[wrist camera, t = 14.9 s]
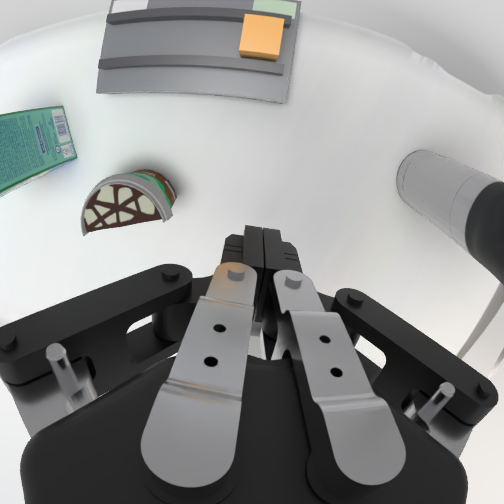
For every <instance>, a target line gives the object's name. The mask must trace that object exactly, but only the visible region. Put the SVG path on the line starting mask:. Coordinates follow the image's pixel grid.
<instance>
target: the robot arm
mask: <svg viewBox="0 0 504 504" xmlns="http://www.w3.org/2000/svg"><path fill="white" fill-rule="evenodd" d="M397 187H398V191H399V194H400V196H401V198H402V199H403V201H404V202H406V203H407V204H408V205H409V206H411V207H412V208H413V209H415V210H416V211H417V212H419V213H420V214H421V215H422V216H424V217H425V218H426V219H428V220H429V221H430V222H432V223H433V224H434V225H435V226H437V227H438V228H439V229H440V230H442V231H443V232H444V233H445V234H447V235H448V236H449V237H450V238H452V239H453V240H454V241H455V242H456V243H458V244H459V245H460V246H461V247H462V248H464V249H465V250H466V251H467V252H468V253H469V254H470V255H472V256H473V257H474V258H475V259H476V260H477V261H478V262H479V263H481V264H482V265H483V266H484V267H485V268H486V269H488V270H489V271H490V272H491V273H492V274H493V275H494V276H495V277H496V278H497V279H498V280H499V281H500V282H501V283H502V284H503V285H504V182H502V181H500V180H498V179H496V178H494V177H491V176H489V175H487V174H484V173H482V172H480V171H478V170H475V169H473V168H470V167H468V166H465V165H463V164H460V163H458V162H455V161H453V160H450V159H448V158H445V157H442V156H440V155H437V154H434V153H431V152H428V151H422V150H421V151H416V152H414V153H411V154H410V155H409V156H407V157H406V159H405V160H404V161H403V162H402V164H401V166H400V168H399V171H398V176H397ZM254 314H255V322H262V328H261V333H260V346H261V354H262V359H261V358H257V357H254V356H251V355H247V354H248V347H249V340H250V332H251V325H252V321H253V319H254ZM150 315H152V322H150V323H148V324H146V325H144V326H142V327H139V328H137V329H135V330H133V331H131V332H129V333H127V330H128V329H129V327H130V326H131V325H132V324H133V323H135V322H137V321H139V320H141V319H143V318H145V317H148V316H150ZM126 333H127V334H126ZM360 335H361V336H362V337H364V338H365V339H366V340H368V341H369V342H371V343H372V344H373V345H375V346H376V347H377V348H379V349H380V350H381V351H382V352H383V353H384V354H385V356H386V364H385V366H384V367H383V369H381V368H380V367H379V366H377V365H376V364H375V363H373V362H372V361H371V360H369V359H368V358H367V357H365V356H364V355H363V354H362V353H360V352H359V351H358V350H356V349H355V348H354V347H355V345H356V343H357V341H358V339H359V337H360ZM177 352H178V354H177V356H175V357H170V356H172V355H173V354H175V353H177ZM168 357H170V358H168ZM0 377H1V379H2V380H3V382H4V384H5V386H6V387H7V389H8V390H9V392H10V393H11V395H12V396H13V398H14V401H15V404H16V406H17V408H18V411H19V413H20V415H21V417H22V420H23V422H24V424H25V426H26V428H27V430H28V432H29V435H30V436H31V439H30V441H29V442H28V443H27V445H26V447H25V449H24V452H23V454H22V458H21V463H20V474H21V480H22V487H23V491H24V499H25V504H466V498H467V491H468V481H467V475H466V471H465V469H464V467H463V465H462V463H461V462H460V460H459V457H460V455H461V453H462V451H463V449H464V447H465V445H466V443H467V440H468V438H469V436H470V433H471V431H472V429H473V428H474V427H475V426H476V425H477V423H479V422H480V421H481V420H482V419H483V418H484V417H485V416H486V415H487V414H488V413H489V412H490V411H491V410H492V408H493V407H494V406H495V405H496V404H497V402H498V392H497V390H496V388H495V386H494V385H493V384H492V382H491V381H490V380H488V379H487V378H486V377H484V376H483V375H482V374H480V373H479V372H477V371H476V370H475V369H473V368H472V367H471V366H469V365H468V364H466V363H465V362H464V361H462V360H461V359H459V358H458V357H456V356H455V355H454V354H452V353H451V352H449V351H448V350H447V349H445V348H444V347H442V346H441V345H439V344H438V343H437V342H435V341H434V340H432V339H431V338H429V337H428V336H426V335H425V334H424V333H422V332H421V331H419V330H418V329H416V328H415V327H413V326H412V325H410V324H409V323H407V322H406V321H405V320H403V319H402V318H400V317H399V316H397V315H396V314H394V313H393V312H391V311H390V310H388V309H387V308H385V307H384V306H382V305H381V304H379V303H378V302H376V301H375V300H373V299H372V298H370V297H369V296H367V295H366V294H364V293H363V292H360V291H358V290H355V289H350V288H344V289H340V290H338V291H337V292H336V295H335V298H334V297H331V296H327V295H324V294H321V293H319V292H317V291H316V289H315V286H314V284H313V282H312V280H311V279H310V278H309V277H308V276H306V275H305V274H303V272H302V268H301V265H300V261H299V257H298V254H297V250H296V248H295V247H294V246H293V245H292V244H291V243H289V242H282V239H281V234H280V230H275V229H269V228H263V229H262V227H255V226H248V225H245V230H244V236H242V235H235V234H231V235H230V236H228V237H227V238H226V240H225V245H224V249H223V254H222V259H221V263H220V265H219V266H218V267H217V268H216V270H215V272H214V275H211V276H209V277H204V278H192V273H191V271H190V270H189V269H187V268H186V267H184V266H181V265H177V264H163V265H159V266H156V267H153V268H151V269H148V270H145V271H143V272H140V273H137V274H135V275H132V276H129V277H127V278H124V279H121V280H119V281H116V282H113V283H111V284H108V285H106V286H103V287H100V288H98V289H95V290H92V291H90V292H87V293H85V294H82V295H80V296H77V297H74V298H72V299H69V300H67V301H64V302H62V303H59V304H57V305H54V306H51V307H49V308H46V309H44V310H41V311H39V312H36V313H34V314H31V315H29V316H26V317H24V318H21V319H19V320H17V321H14V322H12V323H9V324H7V325H4V326H2V327H0ZM108 391H109V392H108ZM106 392H107V393H106ZM104 393H105V394H104ZM101 395H102V396H101ZM99 396H100V397H99Z"/></svg>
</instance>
